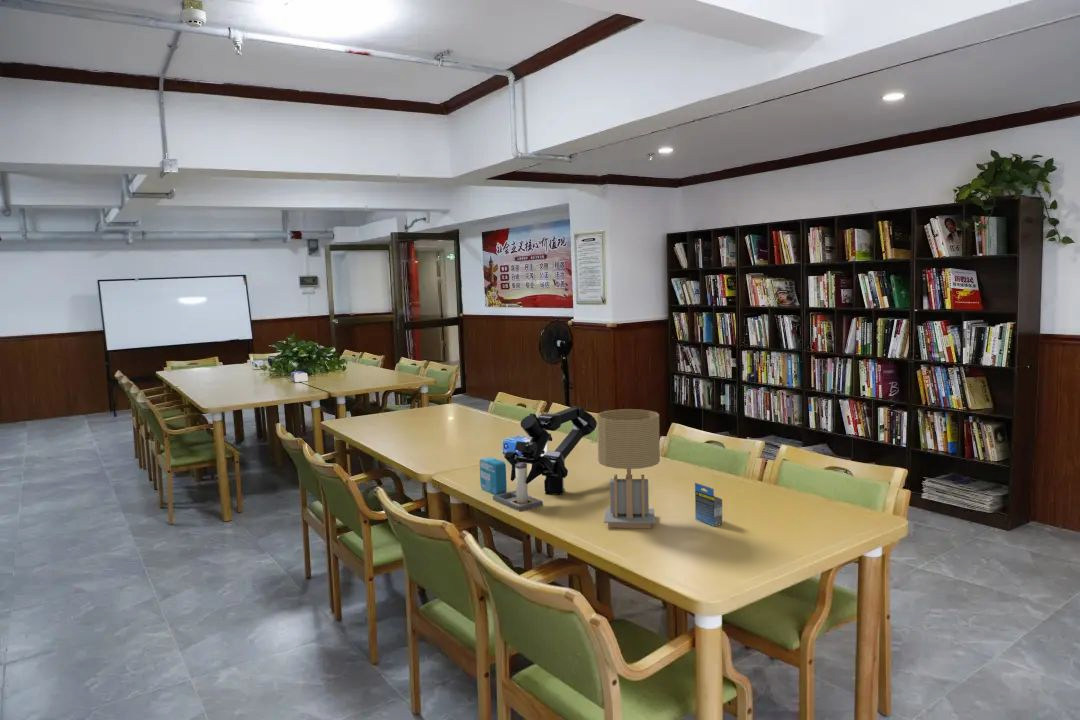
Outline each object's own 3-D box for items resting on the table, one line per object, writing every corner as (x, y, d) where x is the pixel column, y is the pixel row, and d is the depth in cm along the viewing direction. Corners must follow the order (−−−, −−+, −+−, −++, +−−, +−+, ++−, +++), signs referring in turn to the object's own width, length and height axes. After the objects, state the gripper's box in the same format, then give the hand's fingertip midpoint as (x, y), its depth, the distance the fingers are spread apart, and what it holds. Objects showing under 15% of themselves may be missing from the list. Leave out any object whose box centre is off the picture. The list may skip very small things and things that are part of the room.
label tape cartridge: (723, 524, 225) (723, 486, 224) (713, 527, 224) (713, 488, 222) (703, 517, 233) (703, 480, 232) (694, 519, 231) (694, 482, 230)
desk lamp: (597, 532, 222) (595, 420, 218) (601, 511, 242) (598, 409, 238) (661, 533, 220) (660, 420, 216) (659, 512, 239) (658, 409, 235)
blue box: (480, 488, 273) (479, 458, 272) (490, 486, 276) (489, 456, 275) (496, 495, 264) (495, 464, 262) (507, 493, 266) (505, 462, 265)
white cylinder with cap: (526, 503, 253) (524, 462, 251) (529, 507, 249) (528, 465, 247) (515, 505, 252) (513, 463, 250) (518, 508, 248) (517, 466, 246)
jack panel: (515, 494, 264) (515, 490, 264) (542, 505, 251) (542, 500, 250) (493, 499, 259) (492, 495, 258) (519, 511, 245) (518, 506, 245)
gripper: (506, 429, 256) (487, 466, 249) (548, 434, 245) (529, 473, 238) (521, 446, 263) (502, 482, 256) (562, 452, 252) (544, 490, 245)
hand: (518, 481), depth 248 cm, fingers open, 6 cm apart
